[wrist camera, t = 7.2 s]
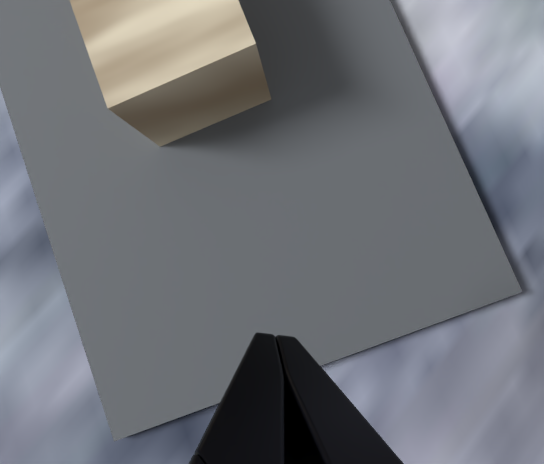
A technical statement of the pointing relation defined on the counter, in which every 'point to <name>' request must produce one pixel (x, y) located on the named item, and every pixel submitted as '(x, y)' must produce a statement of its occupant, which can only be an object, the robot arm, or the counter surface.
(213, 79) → the birch block
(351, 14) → the rubber mat
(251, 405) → the robot arm
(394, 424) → the counter surface
